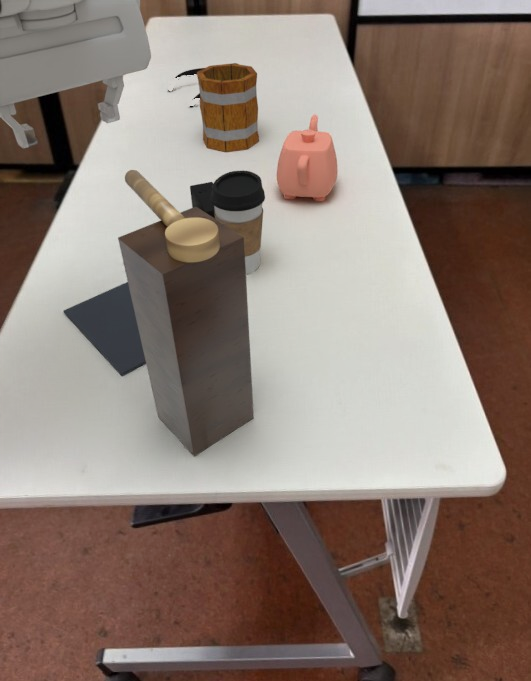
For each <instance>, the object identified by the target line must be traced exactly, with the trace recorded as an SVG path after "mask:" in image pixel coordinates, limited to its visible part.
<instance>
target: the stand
mask: <svg viewBox="0 0 531 681" xmlns="http://www.w3.org/2000/svg"><path fill="white" fill-rule="evenodd" d="M180 213H181V214H182V215H183V216H184V217H185V218H204V219H208V220H211V221H212V222H214V223H215V224H216V225H217V227H218V231H219V242H220V248H219V251H218V252H217V253H216V254H215V255H214V256H213V257H211V258H209V259H207V260H204V261H200V262H181V261H178V260H175V259H173V258H172V257H171V256H170V255H169V254H168V250H167V244H166V238H165V231H166V229H167V226H166V225H165V224H164V223H163V222H162V221H161V220H159V221H157V222H153V223H151V224H148V225H146V226H143V227H141V228H138V229H136V230H134V231H130V232H129V233H126V234H124V235H121V236H118V237H117V240H118V244H119V248H120V249H119V250H120V253H121V257H122V262H123V267H124V271H125V275H126V281H127V282H128V285H129V289H130V294H131V298H132V303H133V307H134V311H135V316H136V320H137V325H138V329H139V334H140V338H141V343H142V347H143V352H144V356H145V360H146V364H145V365H146V369H147V373H148V378H149V382H150V387H151V391H152V395H153V400H154V404H155V409H156V413H157V417H158V418H159V420H160V421H161V422H162V423H163V425H165V427H167V428H168V430H169V431H170V433H172V434H173V435H174V436H175V437H176V438H177V439H178V440H179V441H180V443H181V444H182V445H183V446H184V447H185V449H187V450H188V452H190V454H191V455H193V457H196V456H197V455H199V454H200V453H202V452H203V451H205V450H206V449H208V448H209V447H211V446H213V445H214V444H216V443H217V442H219V441H220V440H222V439H224V438H225V437H226V436H228V435H230V434H232V433H233V432H234V431H236V430H237V429H239V428H241V427H242V426H244V425H245V424H247V423H249V422H250V421H251V420H253V419H255V418H254V416H255V415H254V399H253V397H254V396H253V379H252V378H253V377H252V361H251V343H250V341H251V340H250V323H249V307H248V306H249V304H248V289H247V287H248V286H247V274H246V267H245V248H244V237H243V236H241V235H239V234H238V233H236V232H235V231H233V230H232V229H230V228H229V227H227V226H225V225H224V224H222V223H221V222H219V221H218V220H216V219H215V218H213V217H211V216H210V215H208V214H207V213H205V212H204V211H202V210H200V209H199V208H197V207H193V208H192V207H191V208H187V209H185V210H183V211H181V212H180Z"/></svg>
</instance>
